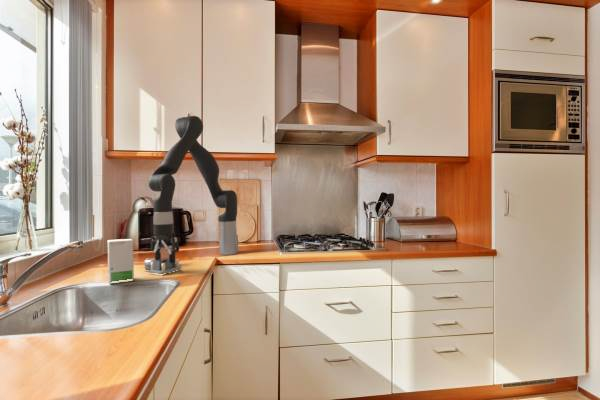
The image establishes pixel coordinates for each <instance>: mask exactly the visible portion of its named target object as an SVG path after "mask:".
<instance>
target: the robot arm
mask: <svg viewBox="0 0 600 400" xmlns="http://www.w3.org/2000/svg"><path fill="white" fill-rule="evenodd" d="M203 123H204V122H203V121H202V119H201V118H200V117H199V116H197V115H190V116H183V117H179V118H177V119H176V120H175V123H174V124H175V125H174V127H175V132H176V133H177V135H178V137H179V138H180V139H179V140H178V141H177V142H175V144H174V145H173V146H171V148H170V149H169V150H168V151H167V153H166V154H165V155H164V158H163V160H162V162H161V164H159V166H158V167H157V168H156V169H155V170H154V171H153V172H152V174H151V175H150V176H149V180H148V187H149V189H150V190H151V191H153V192H156V193H157V192H160V194H159V196H158V197H156V198H154V199H153V203H152V204H153V218H152V219H153V221H152V222H153V235H154V236H150V251H151V252H153V253H154V258H155V260H158V259H161V252H160V251H161V249H162V248H166V250H168V252H169V262H170V263H175V260H176V253H179V252H180V245H179V238H178V237H177V236H176V237H173V235H174V233H175V232H174V230H175V229H174V215H173V197H174V194H175V190H176V180H175V178H174V176H173V175H175V174H177V173H178V171H179V169H180V167H181V165H182V163H183V161H184V159H185V157H186V155H187V154H188V152H189V154H190V155H191V158H192V159H193V161H194V163H195V165H196V166H197V169H198V171H199V172H200V174H201V176H202V178H203V180H204V182H205V183H206V186H207V188H208V190H209V193H210V195H211V198H212V201H213V203H214V205H215V206H216V207H217V208H219V209H224V212H223V213H222V214H219V215H218V218H217V221H218V225H217V226H218V245H219V247H218V248H219V249H218V250H219V251H218V252H219V255H221V256H230V255H231V256H232V255H236V254H238V253H239V235H238V233H237V217H238V216H237V215H238V195H237V193H236V191H234V190H232V189H230V190H223V189H222V188H221V186H220V184H219V176H220V167H219V164H218V162H217V160H216V158H215V157H214V155H213V154H212V153H211V152H210V151H209V150H207V149H206V148H205V147H204V146H202V144H201V143H199V141H198V138H199V137H200V136H201V135H202V132H203V130H204V124H203ZM171 249H172V251H171Z"/></svg>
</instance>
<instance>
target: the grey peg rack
mask: <svg viewBox="0 0 600 400" xmlns="http://www.w3.org/2000/svg"><path fill="white" fill-rule="evenodd" d="M171 251H172V249H171ZM160 252H161V259H163V258H167V257H169V252H168V250H166V248H162V249H161V251H160ZM154 260H155V257H154V258H150V257H146V259H144V260H143V262H144V263H143V265H144V267H145V266H151V262H153V261H154Z"/></svg>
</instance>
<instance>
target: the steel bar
mask: <svg viewBox="0 0 600 400" xmlns="http://www.w3.org/2000/svg"><path fill="white" fill-rule="evenodd" d="M176 260H177V259H175V263H170V262H169V257H167V258H163V259H158V260H154V261H153V263H154V271H162V266H161V264H162V263H165V270H166V269H170V268H174V267H176Z"/></svg>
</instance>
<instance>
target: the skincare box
mask: <svg viewBox="0 0 600 400" xmlns="http://www.w3.org/2000/svg"><path fill="white" fill-rule="evenodd" d="M106 242H107V244H106V245H107V281H108V280H109V282H112V281H119V280H127V279H134V280H135V277H134V276H135V272H134V240H133V239H132V238H125V239H124V238H120V239H119V238H118V239H108V240H107V241H106ZM109 282H108V283H109Z"/></svg>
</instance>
